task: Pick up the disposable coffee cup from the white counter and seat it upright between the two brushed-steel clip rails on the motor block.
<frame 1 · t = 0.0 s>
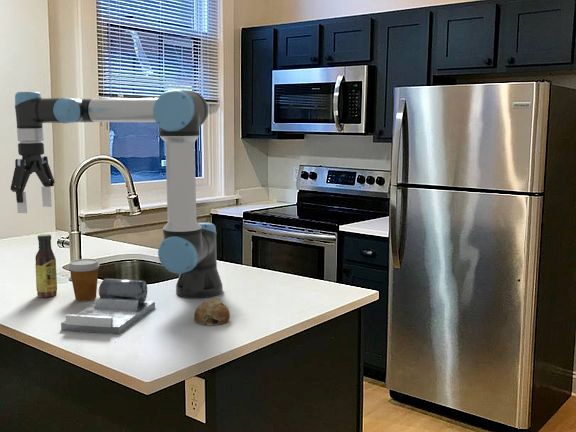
hand: (35, 209, 206), 28 cm above the counter, tool pointing down, fingers open, 13 cm apart
bread roll: (211, 321, 185), on the counter
disposable coffee cup: (85, 299, 207), on the counter
motor block: (104, 322, 183), on the counter
sauce bottle: (47, 296, 210), on the counter
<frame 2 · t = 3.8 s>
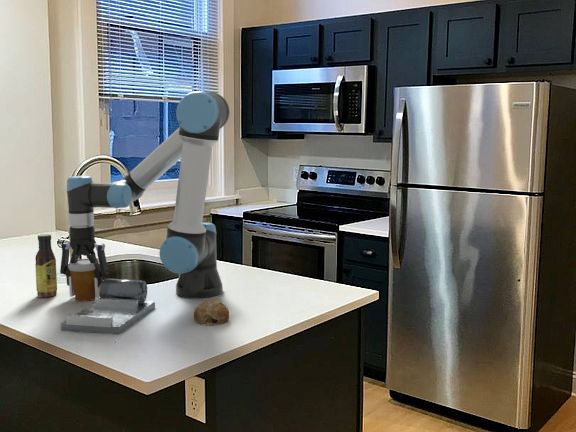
hand: (85, 296, 207), 1 cm above the counter, tool pointing down, fingers closed on disposable coffee cup, 8 cm apart
disposable coffee cup: (85, 299, 207), on the counter, touching gripper
everything else where it was.
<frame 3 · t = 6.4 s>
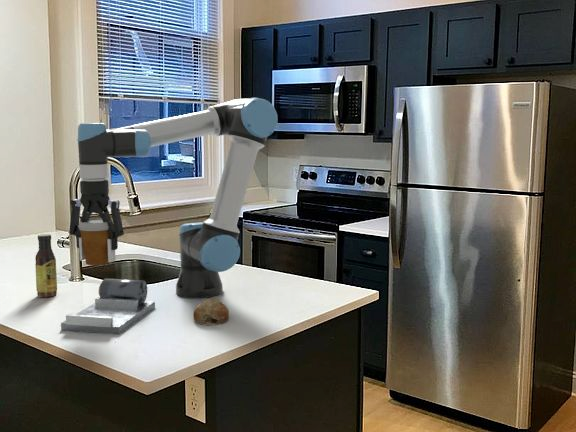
hand: (97, 260, 182), 17 cm above the counter, tool pointing down, fingers closed on disposable coffee cup, 8 cm apart
disposable coffee cup: (97, 263, 183), point 16 cm above the counter, touching gripper
everything else where it was.
when the fingers open (4 cm above the counter, at t = 9.5 s): disposable coffee cup stays where it is, resting on motor block.
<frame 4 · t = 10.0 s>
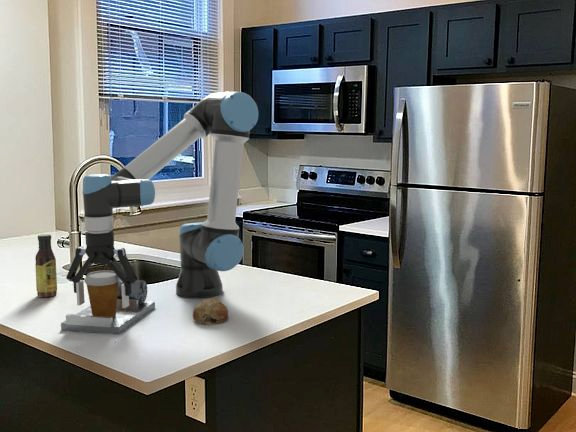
hand: (103, 305, 182), 5 cm above the counter, tool pointing down, fingers open, 13 cm apart
disposable coffee cup: (104, 316, 183), point 2 cm above the counter, touching motor block
everything else where it was.
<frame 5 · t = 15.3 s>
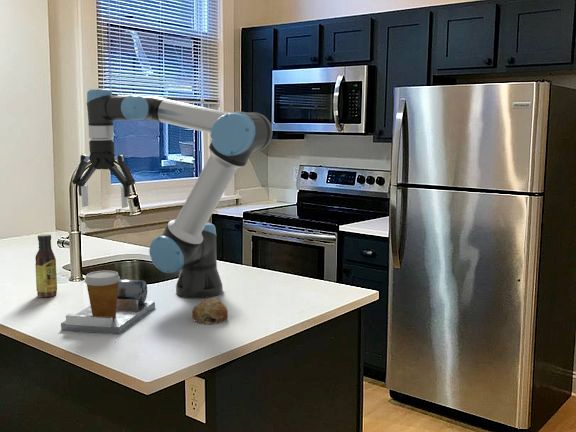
hand: (104, 206, 207), 29 cm above the counter, tool pointing down, fingers open, 13 cm apart
at the end: disposable coffee cup 0.1 cm from the motor block (horizontally); disposable coffee cup tilted 0°; the gripper is holding nothing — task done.
